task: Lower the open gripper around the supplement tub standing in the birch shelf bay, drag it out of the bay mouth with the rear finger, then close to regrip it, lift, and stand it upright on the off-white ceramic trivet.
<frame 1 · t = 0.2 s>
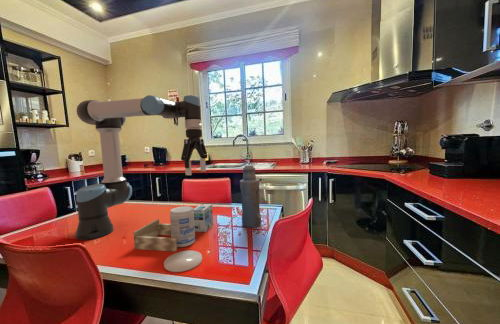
hand: (196, 173, 108), 28 cm above the table, fingers open, 13 cm apart
bottle: (251, 224, 112), on the table
shelf bay: (165, 241, 96), on the table
light bulb box: (203, 228, 110), on the table
supplement tub: (183, 243, 94), on the table
trivet: (183, 261, 79), on the table
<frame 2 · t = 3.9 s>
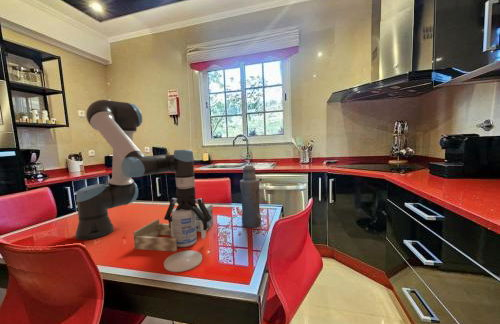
hand: (188, 236, 93), 3 cm above the table, fingers open, 13 cm apart
supplement tub: (185, 243, 94), on the table, touching gripper
everything else where it was.
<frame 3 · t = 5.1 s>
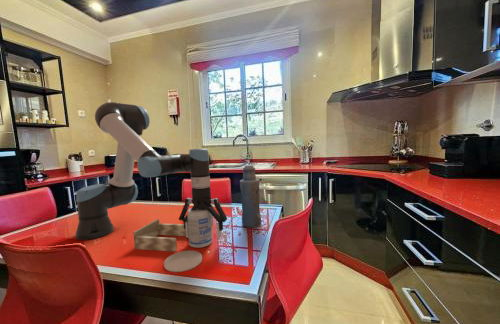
hand: (203, 237, 92), 3 cm above the table, fingers open, 13 cm apart
supplement tub: (200, 243, 93), on the table, touching gripper
everything else where it was.
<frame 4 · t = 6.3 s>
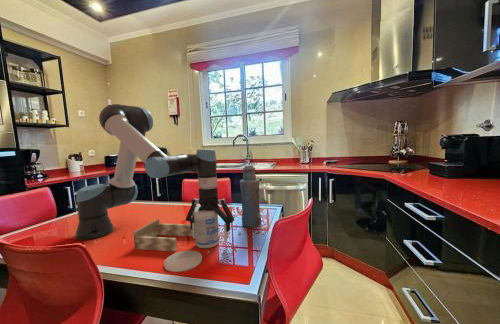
hand: (210, 238, 91), 3 cm above the table, fingers open, 13 cm apart
supplement tub: (207, 244, 92), on the table, touching gripper
everything else where it was.
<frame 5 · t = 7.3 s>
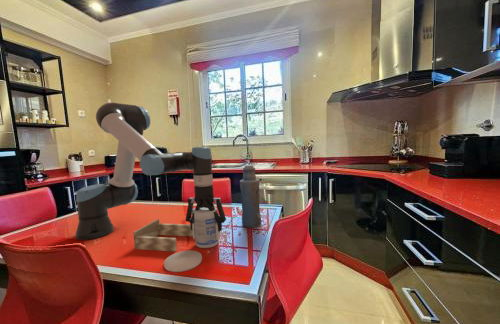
hand: (206, 238, 92), 3 cm above the table, fingers closed on supplement tub, 9 cm apart
supplement tub: (207, 244, 92), on the table, touching gripper
everything else where it was.
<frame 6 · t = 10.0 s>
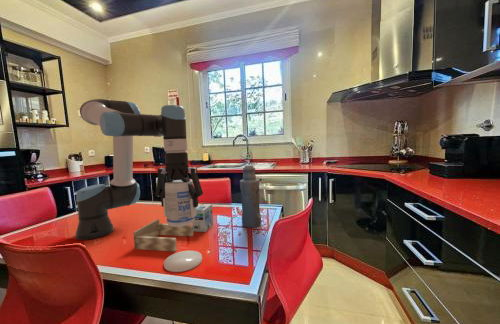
hand: (180, 215, 78), 17 cm above the table, fingers closed on supplement tub, 9 cm apart
supplement tub: (181, 223, 78), point 14 cm above the table, touching gripper
everything else where it was.
when the fingers open (3 cm above the table, at t = 12.8 s): supplement tub stays where it is, resting on trivet.
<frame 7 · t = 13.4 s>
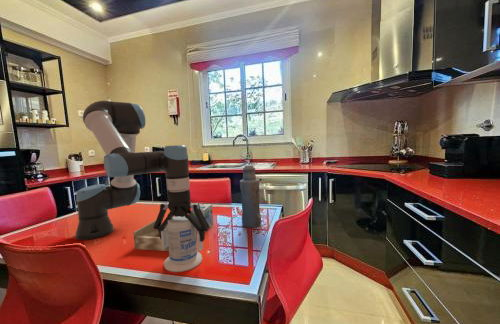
hand: (182, 248, 79), 5 cm above the table, fingers open, 13 cm apart
supplement tub: (183, 259, 79), point 1 cm above the table, touching trivet
everything else where it was.
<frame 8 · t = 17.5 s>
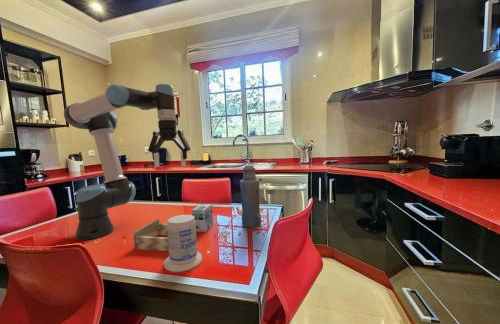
hand: (170, 166, 102), 32 cm above the table, fingers open, 13 cm apart
nothing on the table moved.
at the end: supplement tub 0.5 cm from the trivet (horizontally); supplement tub tilted 1°; supplement tub touching trivet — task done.
